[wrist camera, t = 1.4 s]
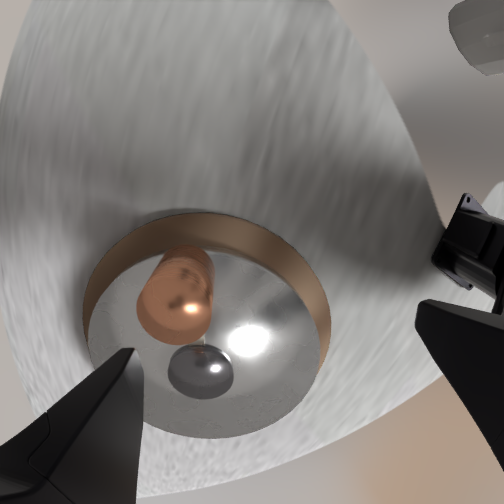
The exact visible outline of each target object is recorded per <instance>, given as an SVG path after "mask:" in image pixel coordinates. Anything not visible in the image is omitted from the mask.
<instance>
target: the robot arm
mask: <svg viewBox="0 0 504 504" xmlns="http://www.w3.org/2000/svg"><path fill="white" fill-rule="evenodd" d="M466 199H467V200H466ZM437 258H438V260H437ZM431 261H432V263H433V264H434V265H435V266H437V267H438V268H439V269H441V270H442V271H443V272H445V273H446V274H447V275H449V276H450V277H451V278H453V279H454V280H455V281H457V282H458V283H459V284H460V285H462V286H463V287H464V288H466V289H467V290H471V289H472V288H473V286H475V287H476V288H478V289H480V290H481V291H483V292H484V293H486V294H487V295H489V296H490V297H492V298H493V299H495V303H494V306H493V309H492V312H491V313H489V312H485V311H480V310H476V309H471V308H467V307H463V306H458V305H454V304H449V303H445V302H441V301H436V300H432V299H427V300H424V301H421V302H420V303H419V304H418V308H417V313H416V318H415V329H416V331H417V332H418V334H419V336H420V337H421V339H422V341H423V342H424V344H425V346H426V347H427V349H428V351H429V353H430V354H431V356H432V358H433V359H434V361H435V363H436V364H437V366H438V367H439V368H440V370H441V371H442V373H443V374H444V375H445V377H446V378H447V380H448V381H449V383H450V384H451V386H452V387H453V388H454V390H455V392H456V393H457V395H458V396H459V398H460V399H461V401H462V402H463V404H464V405H465V407H466V408H467V410H468V411H469V413H470V415H471V416H472V418H473V419H474V421H475V422H476V424H477V426H478V427H479V429H480V431H481V432H482V434H483V436H484V437H485V439H486V441H487V442H488V444H489V446H490V447H491V449H492V451H493V453H494V455H495V457H496V458H497V460H498V462H499V464H500V466H501V467H502V469H503V471H504V220H502V219H499V218H496V217H493V216H490V215H488V213H487V212H486V211H485V210H484V209H483V208H482V206H481V205H480V204H479V203H478V202H477V201H476V200H475V199H474V198H473V197H472V195H471V194H468V193H464V194H463V195H462V197H461V199H460V202H459V204H458V206H457V208H456V210H455V213H454V215H453V217H452V219H451V221H450V223H449V225H448V227H447V229H446V231H445V233H444V235H443V237H442V239H441V241H440V243H439V245H438V247H437V248H436V250H435V252H434V254H433V256H432V260H431ZM143 418H144V371H143V368H142V365H141V362H140V359H139V355H138V352H137V350H136V349H135V348H134V347H129V348H121V349H120V350H119V351H117V352H116V353H115V354H114V355H113V356H111V357H110V358H109V359H108V360H107V361H105V362H104V363H103V364H102V365H101V366H99V367H98V368H97V369H96V370H95V371H93V372H92V373H91V374H90V375H89V376H87V377H86V378H85V379H84V380H83V381H81V382H80V383H79V384H78V385H77V386H75V387H74V388H73V389H72V390H71V391H69V392H68V393H67V394H66V395H65V396H64V397H62V398H61V399H60V400H59V401H58V402H56V403H55V404H54V405H53V406H52V407H50V408H49V409H48V410H47V412H44V413H43V414H42V415H41V416H40V417H39V418H37V419H36V420H35V421H34V422H33V423H31V424H30V425H29V426H28V427H26V428H25V429H24V430H22V431H21V432H20V433H18V434H17V435H16V436H14V437H13V438H11V439H10V440H8V441H7V442H6V443H4V444H3V445H1V446H0V504H136V491H137V478H138V467H139V456H140V447H141V438H142V430H143Z"/></svg>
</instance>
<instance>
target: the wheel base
mask: <svg viewBox="0 0 504 504" xmlns="http://www.w3.org/2000/svg"><path fill="white" fill-rule="evenodd" d="M182 244H188V245H194V246H213V247H221V248H226V249H230V250H233V251H237V252H241V253H243V254H246V255H248V256H251V257H253V258H256V259H258V260H259V261H261V262H263V263H265V264H267V265H268V266H270V267H271V268H273V269H274V270H275V271H277V272H278V273H279V274H281V275H282V276H283V277H284V278H285V279H286V280H287V281H288V282H289V283H290V284H291V285H292V286H293V287H294V288H295V289H296V291H297V292H298V293H299V295H300V296H301V297H302V299H303V301H304V303H305V305H306V307H307V308H308V310H309V312H310V314H311V316H312V318H313V320H314V322H315V325H316V328H317V331H318V334H319V341H320V362H319V368H318V372H319V370H320V368H321V366H322V364H323V362H324V360H325V357H326V354H327V351H328V348H329V342H330V337H331V316H330V309H329V304H328V301H327V298H326V295H325V292H324V290H323V288H322V286H321V284H320V281H319V279H318V278H317V276H316V275H315V273H314V272H313V271H312V269H311V268H310V266H309V265H308V263H307V262H306V261H305V260H304V258H303V257H302V256H301V255H300V254H299V253H298V252H297V251H296V250H295V249H294V248H293V247H292V246H291V245H289V244H288V243H287V242H286V241H284V240H283V239H282V238H281V237H279V236H277V235H276V234H274V233H272V232H271V231H269V230H267V229H266V228H264V227H261V226H259V225H257V224H254V223H252V222H249V221H247V220H244V219H240V218H236V217H233V216H229V215H222V214H214V213H186V214H179V215H172V216H168V217H165V218H162V219H158V220H155V221H152V222H150V223H148V224H146V225H144V226H141V227H139V228H137V229H136V230H134V231H133V232H131V233H130V234H128V235H127V236H125V237H124V238H123V239H121V240H120V241H119V242H118V243H117V244H116V245H115V246H114V247H112V248H111V249H110V250H109V251H108V252H107V253H106V255H105V256H104V257H103V258H102V260H101V261H100V262H99V263H98V265H97V267H96V268H95V270H94V272H93V274H92V276H91V278H90V280H89V283H88V286H87V289H86V292H85V297H84V303H83V326H84V333H85V337H86V341H87V346H88V348H89V345H88V330H89V324H90V319H91V316H92V313H93V310H94V307H95V306H96V304H97V302H98V300H99V298H100V297H101V295H102V294H103V293H104V292H105V290H106V289H107V288H108V287H109V285H110V284H111V283H112V282H113V281H114V279H115V278H116V277H117V276H118V275H119V274H120V273H121V272H122V271H124V270H125V269H126V268H127V267H128V266H130V265H131V264H133V263H134V262H136V261H138V260H139V259H141V258H143V257H145V256H148V255H150V254H152V253H155V252H158V251H161V250H165V249H169V248H172V247H175V246H177V245H182ZM318 372H317V373H318ZM316 375H317V374H316Z"/></svg>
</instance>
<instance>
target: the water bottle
mask: <svg viewBox="0 0 504 504" xmlns="http://www.w3.org/2000/svg"><path fill="white" fill-rule="evenodd" d="M448 17H449V29H450V33H451V35H452V37H453V39H454V41H455V43H456V45H457V47H458V50H459V51H460V52H461V53H462V55H463V56H464V57H465V59H466V60H467V61H468V62H469V64H470V65H471V66H473V67H474V68H476V69H477V70H479V71H480V72H482V73H483V74H485V75H486V76H489V75H499V74H504V0H465V1H462V2H460V3H458V4H456V5H455V6H454V7H453V9H452V10H451V11H450V12H449V16H448Z"/></svg>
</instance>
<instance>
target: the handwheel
mask: <svg viewBox="0 0 504 504" xmlns="http://www.w3.org/2000/svg"><path fill="white" fill-rule="evenodd" d="M88 345H89V352H90V357H91V360H92V363H93V366H94V369H95V370H96V369H97V368H98V367H99V366H101V365H102V364H103V363H104V362H105V361H107V360H108V359H109V358H110V357H111V356H113V355H114V354H115V353H116V352H117V351H119V350H120V349H121V348H129V347H134V348H135V349H136V350H137V352H138V355H139V359H140V362H141V365H142V368H143V371H144V418H143V421H144V422H146V423H148V424H150V425H152V426H154V427H156V428H159V429H161V430H164V431H167V432H170V433H174V434H177V435H182V436H187V437H194V438H207V439H217V438H229V437H235V436H241V435H244V434H248V433H252V432H255V431H257V430H260V429H263V428H265V427H267V426H269V425H271V424H273V423H275V422H276V421H278V420H280V419H281V418H283V417H284V416H286V415H287V414H288V413H289V412H290V411H292V410H293V409H294V408H295V407H296V406H297V405H298V404H299V403H300V402H301V401H302V399H303V398H304V397H305V395H306V394H307V393H308V391H309V390H310V388H311V386H312V384H313V382H314V380H315V377H316V374H317V372H318V368H319V362H320V341H319V334H318V331H317V328H316V325H315V322H314V320H313V318H312V316H311V314H310V312H309V310H308V308H307V307H306V305H305V303H304V301H303V299H302V297H301V296H300V295H299V293H298V292H297V291H296V289H295V288H294V287H293V286H292V285H291V284H290V283H289V282H288V281H287V280H286V279H285V278H284V277H283V276H282V275H281V274H279V273H278V272H277V271H275V270H274V269H273V268H271V267H270V266H268V265H267V264H265V263H263V262H261V261H259V260H258V259H256V258H253V257H251V256H248V255H246V254H243V253H241V252H237V251H233V250H230V249H226V248H221V247H213V246H194V245H188V244H182V245H177V246H175V247H172V248H169V249H165V250H161V251H158V252H155V253H152V254H150V255H148V256H145V257H143V258H141V259H139V260H138V261H136V262H134V263H133V264H131V265H130V266H128V267H127V268H126V269H125V270H124V271H122V272H121V273H120V274H119V275H118V276H117V277H116V278H115V279H114V281H113V282H112V283H111V284H110V285H109V287H108V288H107V289H106V290H105V292H104V293H103V294H102V295H101V297H100V298H99V300H98V302H97V304H96V306H95V307H94V310H93V313H92V316H91V319H90V324H89V330H88Z"/></svg>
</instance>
